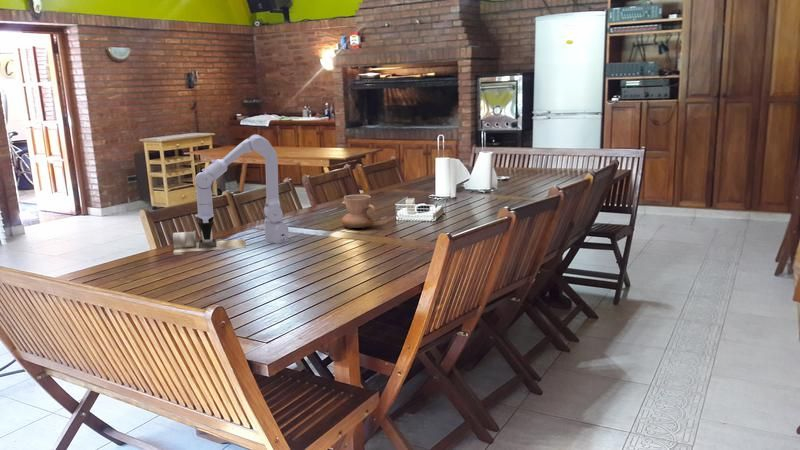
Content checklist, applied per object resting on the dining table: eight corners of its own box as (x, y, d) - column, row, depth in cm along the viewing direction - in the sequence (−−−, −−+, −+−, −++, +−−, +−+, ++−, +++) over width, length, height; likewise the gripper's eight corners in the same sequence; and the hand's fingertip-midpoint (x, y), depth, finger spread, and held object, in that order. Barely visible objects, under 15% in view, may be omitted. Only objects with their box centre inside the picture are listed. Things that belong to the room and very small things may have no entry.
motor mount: (244, 241, 262) (243, 224, 260) (246, 250, 248) (245, 231, 247) (175, 246, 254) (174, 228, 253) (173, 255, 241) (171, 236, 240)
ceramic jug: (333, 227, 286) (332, 196, 283) (353, 222, 298) (353, 192, 295) (364, 233, 276) (363, 201, 273) (384, 227, 288) (384, 196, 285)
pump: (215, 245, 251) (213, 227, 250) (206, 247, 248) (205, 229, 247) (209, 243, 254) (207, 226, 252) (200, 245, 251) (199, 228, 249)
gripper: (194, 200, 253) (197, 233, 256) (193, 207, 239) (196, 242, 242) (213, 199, 255) (215, 232, 258) (212, 206, 241) (215, 241, 244)
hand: (207, 237), depth 250 cm, fingers open, 7 cm apart
